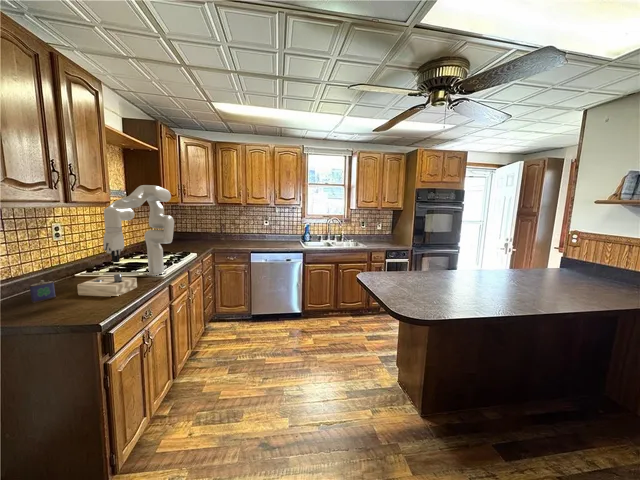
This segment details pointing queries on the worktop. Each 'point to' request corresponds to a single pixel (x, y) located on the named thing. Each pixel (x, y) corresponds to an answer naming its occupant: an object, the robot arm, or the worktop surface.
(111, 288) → the maple block
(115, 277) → the peg
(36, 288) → the flask
